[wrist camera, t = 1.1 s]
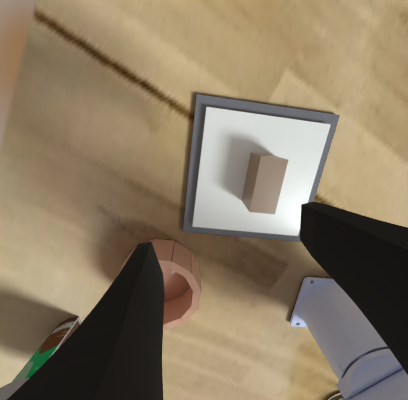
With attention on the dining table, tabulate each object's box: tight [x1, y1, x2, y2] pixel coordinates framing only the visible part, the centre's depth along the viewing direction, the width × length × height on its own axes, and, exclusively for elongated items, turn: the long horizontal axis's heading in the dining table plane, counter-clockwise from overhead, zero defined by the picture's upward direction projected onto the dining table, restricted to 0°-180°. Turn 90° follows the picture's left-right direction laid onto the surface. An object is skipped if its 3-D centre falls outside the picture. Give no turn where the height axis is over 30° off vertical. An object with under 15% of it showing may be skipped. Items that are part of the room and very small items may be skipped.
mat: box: [183, 94, 340, 242], centre depth 22 cm, size 14×14×1 cm
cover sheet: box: [192, 107, 331, 236], centre depth 20 cm, size 12×12×4 cm
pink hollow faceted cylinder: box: [115, 239, 201, 330], centre depth 24 cm, size 9×9×4 cm
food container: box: [0, 316, 81, 400], centre depth 24 cm, size 12×6×10 cm, turn 7°
